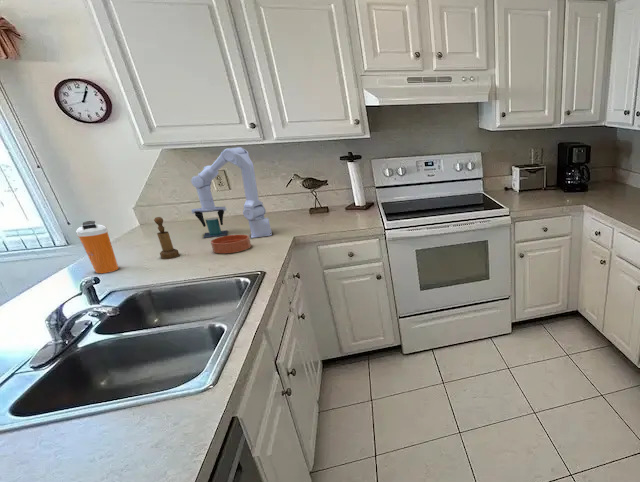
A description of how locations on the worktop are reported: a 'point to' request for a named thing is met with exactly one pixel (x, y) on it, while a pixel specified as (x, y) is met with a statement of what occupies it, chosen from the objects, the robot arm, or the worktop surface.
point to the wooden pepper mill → (165, 241)
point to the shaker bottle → (97, 246)
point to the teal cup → (213, 226)
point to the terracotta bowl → (231, 243)
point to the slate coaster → (207, 235)
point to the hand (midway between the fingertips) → (213, 225)
